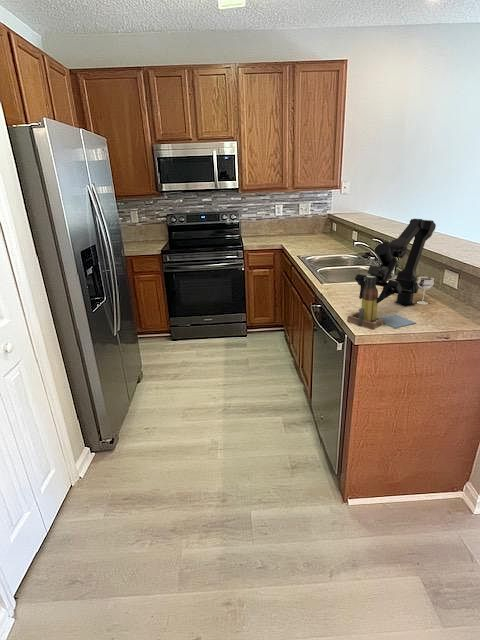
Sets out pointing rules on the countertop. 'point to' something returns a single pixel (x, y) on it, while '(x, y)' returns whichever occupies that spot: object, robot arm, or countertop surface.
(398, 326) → the slate mat
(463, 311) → the countertop surface
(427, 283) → the wineglass
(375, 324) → the c holder
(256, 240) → the countertop surface
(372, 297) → the sauce bottle
